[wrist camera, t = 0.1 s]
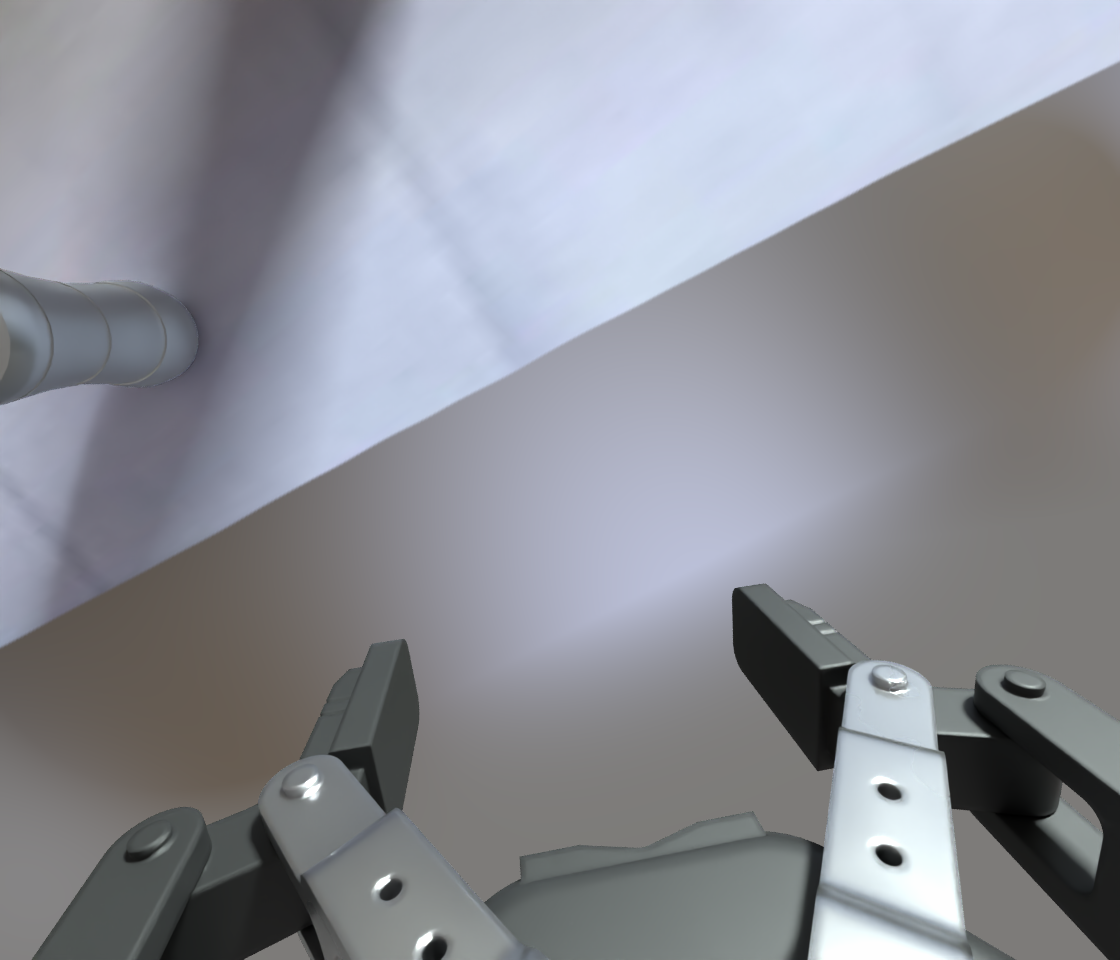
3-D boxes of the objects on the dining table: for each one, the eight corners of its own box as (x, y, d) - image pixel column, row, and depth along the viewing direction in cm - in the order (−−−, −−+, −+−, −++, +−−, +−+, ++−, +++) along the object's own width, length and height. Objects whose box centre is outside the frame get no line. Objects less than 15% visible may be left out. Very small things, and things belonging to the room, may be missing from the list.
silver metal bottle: (232, 352, 37) (-42, 367, 18) (148, 402, 38) (-210, 468, 18) (168, 265, 36) (-210, 177, 16) (80, 317, 36) (-396, 292, 17)
